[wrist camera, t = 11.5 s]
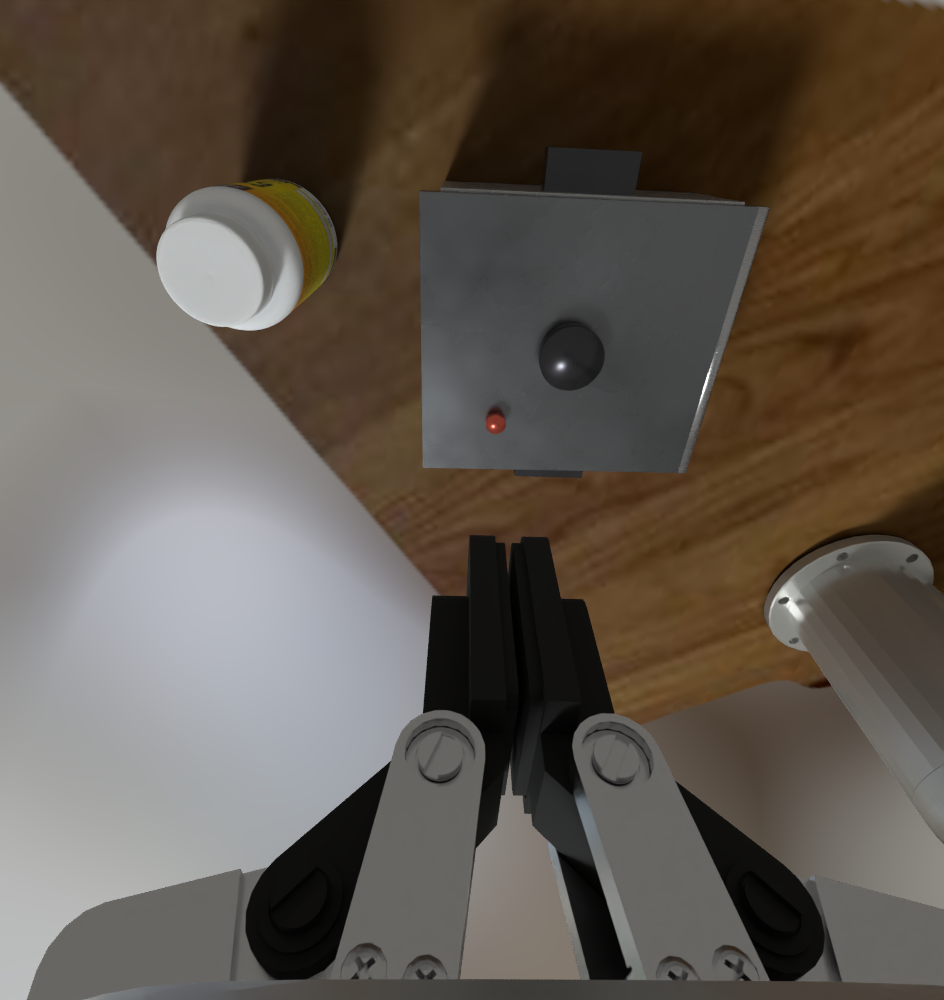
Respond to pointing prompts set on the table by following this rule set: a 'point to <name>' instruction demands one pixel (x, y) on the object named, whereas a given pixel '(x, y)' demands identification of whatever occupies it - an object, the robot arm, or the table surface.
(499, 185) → the cooker pot
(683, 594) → the table surface
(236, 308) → the supplement bottle
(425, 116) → the table surface
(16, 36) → the table surface
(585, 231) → the lid
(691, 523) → the table surface
